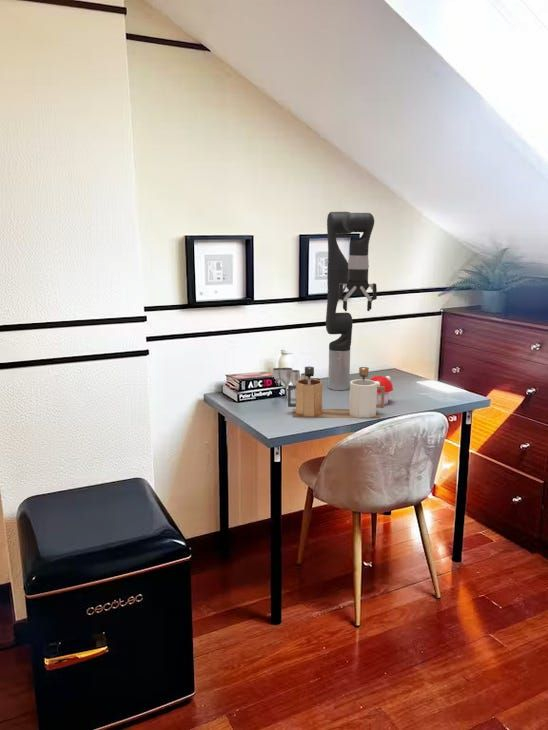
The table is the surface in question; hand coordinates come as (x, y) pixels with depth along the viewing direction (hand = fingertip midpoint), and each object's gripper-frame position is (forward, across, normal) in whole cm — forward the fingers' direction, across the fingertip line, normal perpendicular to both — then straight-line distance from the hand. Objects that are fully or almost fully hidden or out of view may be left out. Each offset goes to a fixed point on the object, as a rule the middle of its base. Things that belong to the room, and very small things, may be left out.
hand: (356, 310), depth 234 cm
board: (+38, +8, +12) cm, 41 cm away
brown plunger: (+36, -2, +12) cm, 38 cm away
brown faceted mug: (+37, +20, +12) cm, 43 cm away
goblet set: (+38, +23, -6) cm, 45 cm away
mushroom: (+38, -10, -4) cm, 40 cm away
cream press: (+37, -4, +12) cm, 39 cm away
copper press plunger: (+36, +18, +12) cm, 42 cm away
